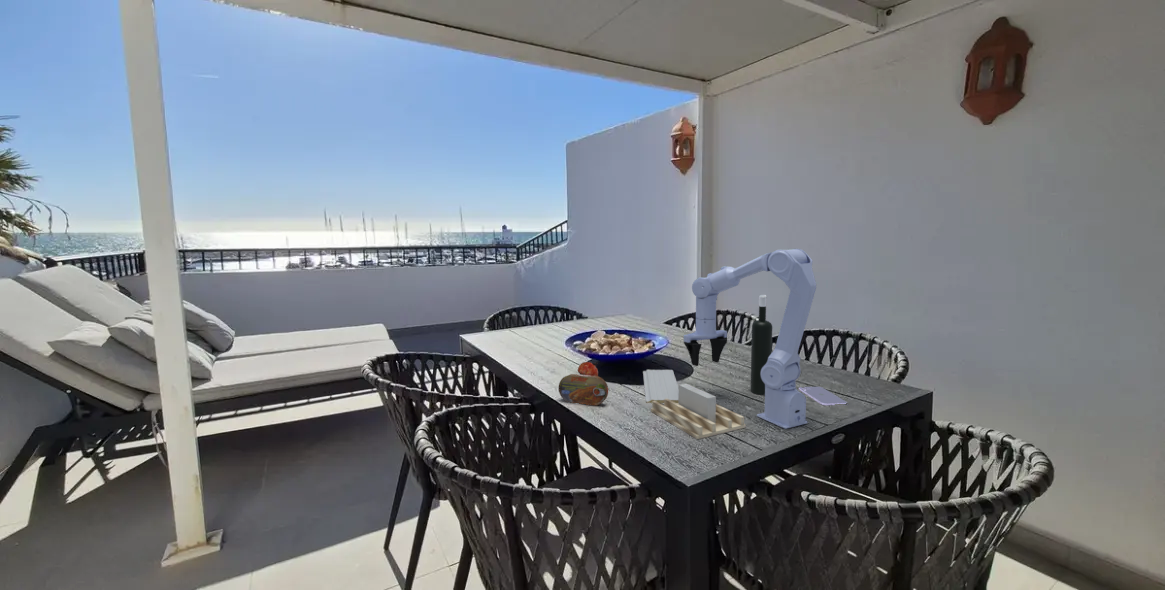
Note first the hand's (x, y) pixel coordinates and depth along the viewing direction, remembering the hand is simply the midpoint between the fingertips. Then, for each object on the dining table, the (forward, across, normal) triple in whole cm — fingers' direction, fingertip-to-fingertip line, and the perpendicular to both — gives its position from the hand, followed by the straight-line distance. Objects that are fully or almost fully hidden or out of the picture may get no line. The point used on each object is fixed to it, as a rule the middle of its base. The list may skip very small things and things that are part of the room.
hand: (705, 363), depth 134 cm
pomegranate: (+11, +25, -30) cm, 41 cm away
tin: (+11, +34, -13) cm, 38 cm away
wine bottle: (+11, -18, +4) cm, 21 cm away
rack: (+10, +13, +12) cm, 20 cm away
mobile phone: (+11, -31, +15) cm, 36 cm away
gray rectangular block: (+10, +13, +12) cm, 20 cm away
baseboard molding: (+11, +6, -16) cm, 20 cm away
